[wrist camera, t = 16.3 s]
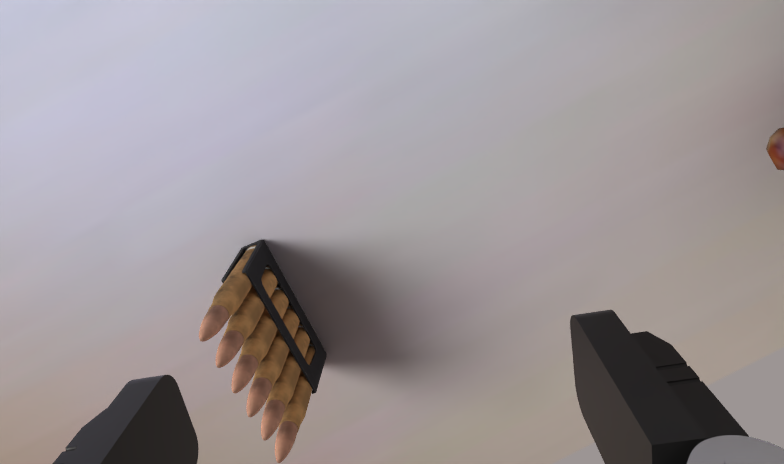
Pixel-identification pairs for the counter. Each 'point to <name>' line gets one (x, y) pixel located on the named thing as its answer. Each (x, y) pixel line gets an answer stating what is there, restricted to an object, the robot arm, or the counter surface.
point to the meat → (777, 148)
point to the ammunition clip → (266, 343)
